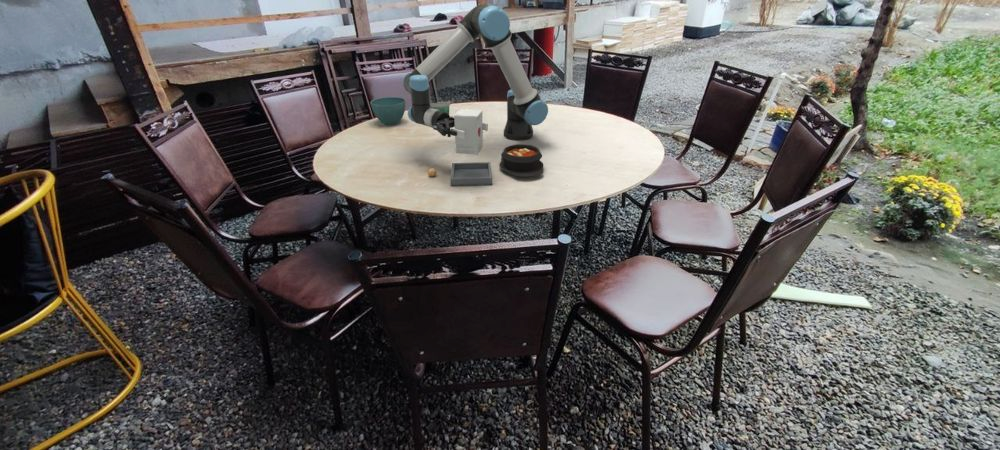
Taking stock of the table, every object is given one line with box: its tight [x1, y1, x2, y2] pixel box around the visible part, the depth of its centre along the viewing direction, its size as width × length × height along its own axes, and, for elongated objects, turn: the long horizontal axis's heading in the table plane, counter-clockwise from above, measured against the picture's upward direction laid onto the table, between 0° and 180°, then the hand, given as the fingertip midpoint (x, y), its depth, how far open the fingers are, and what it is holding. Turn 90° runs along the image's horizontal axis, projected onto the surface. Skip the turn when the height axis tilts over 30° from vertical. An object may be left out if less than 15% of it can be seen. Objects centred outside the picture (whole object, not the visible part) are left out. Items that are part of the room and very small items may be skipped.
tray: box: [450, 161, 493, 187], centre depth 169 cm, size 16×16×3 cm
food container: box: [430, 99, 451, 115], centre depth 234 cm, size 12×6×10 cm, turn 117°
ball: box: [427, 168, 437, 177], centre depth 170 cm, size 3×3×3 cm
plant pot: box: [370, 96, 406, 126], centre depth 228 cm, size 18×18×12 cm
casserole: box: [499, 143, 545, 178], centre depth 175 cm, size 25×19×8 cm
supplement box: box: [453, 108, 484, 156], centre depth 160 cm, size 9×9×15 cm
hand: (476, 131), depth 158 cm, fingers closed on supplement box, 12 cm apart
